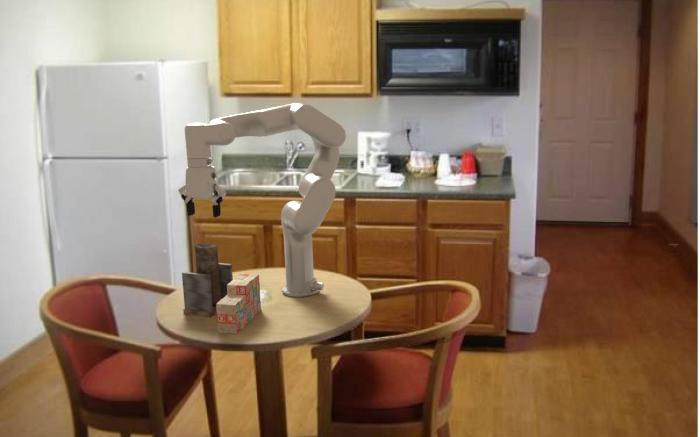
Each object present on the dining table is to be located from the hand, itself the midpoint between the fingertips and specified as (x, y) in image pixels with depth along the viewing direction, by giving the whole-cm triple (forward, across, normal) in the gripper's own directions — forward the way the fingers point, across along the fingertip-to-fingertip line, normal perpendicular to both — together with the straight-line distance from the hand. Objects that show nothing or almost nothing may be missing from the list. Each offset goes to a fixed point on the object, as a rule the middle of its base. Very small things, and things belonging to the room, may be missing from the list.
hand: (204, 215), depth 245 cm
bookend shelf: (+31, 0, +2) cm, 31 cm away
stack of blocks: (+31, -16, +8) cm, 36 cm away
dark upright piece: (+29, -1, +2) cm, 29 cm away
